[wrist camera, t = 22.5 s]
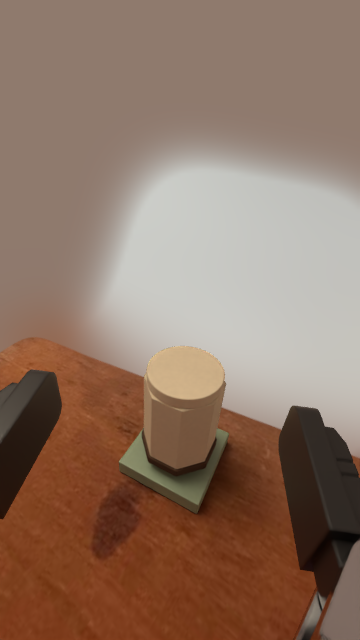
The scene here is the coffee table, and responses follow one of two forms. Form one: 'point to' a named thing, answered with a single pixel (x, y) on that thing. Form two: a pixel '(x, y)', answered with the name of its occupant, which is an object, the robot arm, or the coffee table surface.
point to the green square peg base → (178, 489)
